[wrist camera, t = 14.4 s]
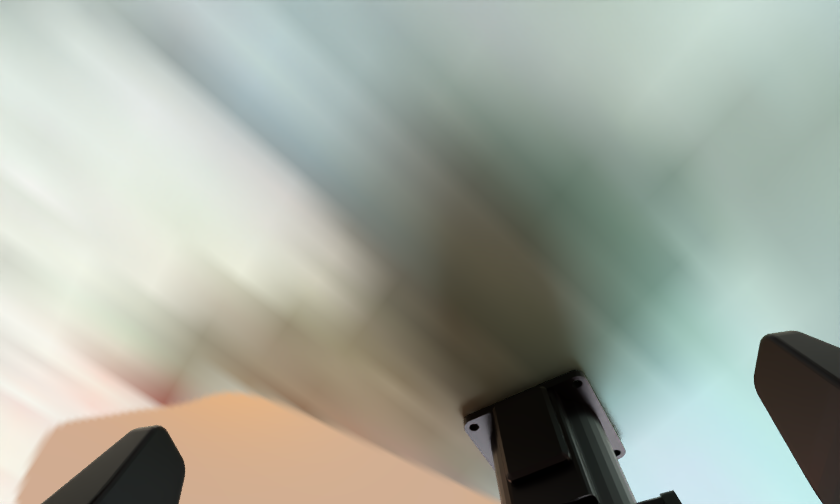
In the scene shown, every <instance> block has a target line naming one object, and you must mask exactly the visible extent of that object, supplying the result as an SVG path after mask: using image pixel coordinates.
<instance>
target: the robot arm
mask: <svg viewBox="0 0 840 504" xmlns="http://www.w3.org/2000/svg"><path fill="white" fill-rule="evenodd" d="M575 380H579V381H577V382H574V381H575ZM754 385H755V389H756V391H757V394H758V396H759V397H760V399H761V401H762V403H763V404H764V406H765V408H766V409H767V411H768V413H769V415H770V416H771V418H772V420H773V422H774V423H775V425H776V427H777V428H778V430H779V432H780V434H781V435H782V437H783V439H784V441H785V442H786V444H787V446H788V447H789V449H790V451H791V453H792V454H793V456H794V458H795V460H796V461H797V463H798V465H799V466H800V468H801V470H802V472H803V473H804V475H805V477H806V478H807V480H808V482H809V483H810V485H811V487H812V488H813V490H814V491H815V493H816V495H817V496H818V497H819V499H820V500H821V502H822V503H823V504H840V348H839V347H836V346H834V345H831V344H829V343H826V342H824V341H821V340H819V339H816V338H814V337H811V336H809V335H806V334H804V333H801V332H798V331H785V332H778V333H772V334H767V335H765V336H764V337H763V338H762V339H761V341H760V345H759V351H758V356H757V362H756V367H755V373H754ZM463 423H464V429H465V431H466V433H467V434H468V435H469V437H470V438H471V439H472V441H473V442H474V443H475V445H476V446H477V447H478V449H479V450H480V451H481V453H482V454H483V456H484V457H485V458H486V460H487V461H488V462H489V464H490V465H491V466H492V468H493V469H494V470H495V472H496V477H497V483H498V488H499V494H500V499H501V504H682V503H681V502H680V500H679V498H678V497H677V495H676V494H675V492H674V491H673V490H672V491H669V492H665V493H661V494H660V497H657V498H653V499H649V500H646V501H642V502H638V503H637V502H636V500H635V498H634V496H633V493H632V491H631V489H630V487H629V484H628V482H627V480H626V478H625V475H624V473H623V471H622V469H621V467H620V464H619V462H618V460H617V459H620V458H622V457H623V456H624V455H625V448H624V446H623V444H622V442H621V440H620V439H619V437H618V435H617V433H616V431H615V429H614V427H613V426H612V424H611V422H610V420H609V418H608V416H607V415H606V413H605V411H604V409H603V407H602V405H601V404H600V402H599V400H598V398H597V396H596V394H595V393H594V391H593V389H592V387H591V385H590V383H589V382H588V380H587V378H586V376H585V374H584V373H583V372H581V371H579V370H574V371H571V372H568V373H566V374H564V375H561V376H559V377H557V378H554V379H552V380H550V381H547V382H545V383H543V384H540V385H538V386H536V387H533V388H531V389H529V390H526V391H524V392H522V393H519V394H517V395H515V396H512V397H510V398H508V399H505V400H503V401H501V402H498V403H496V404H494V405H491V406H489V407H487V408H484V409H482V410H480V411H477V412H475V413H473V414H470V415H468V416H467V417H465V419H464V422H463ZM471 424H476V425H471ZM184 477H185V465H184V461H183V458H182V457H181V455H180V453H179V451H178V449H177V448H176V446H175V444H174V442H173V441H172V439H171V437H170V435H169V434H168V432H167V431H166V429H165V428H163V427H162V426H158V425H155V426H148V427H142V428H137V429H134V430H132V431H130V432H129V433H128V434H126V435H125V436H124V437H123V438H121V439H120V440H119V441H118V442H117V443H115V444H114V445H113V446H112V447H110V448H109V449H108V450H107V451H106V452H104V453H103V454H102V455H101V456H100V457H98V458H97V459H96V460H94V461H93V462H92V463H91V464H90V465H88V466H87V467H86V468H85V469H83V470H82V471H81V472H80V473H79V474H77V475H76V476H75V477H74V478H72V479H71V480H70V481H69V482H68V483H66V484H65V485H64V486H63V487H61V488H60V489H59V490H58V491H57V492H55V493H54V494H53V495H52V496H50V497H49V498H48V499H47V500H45V501H44V502H43V503H42V504H179V500H180V495H181V491H182V486H183V482H184Z"/></svg>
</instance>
